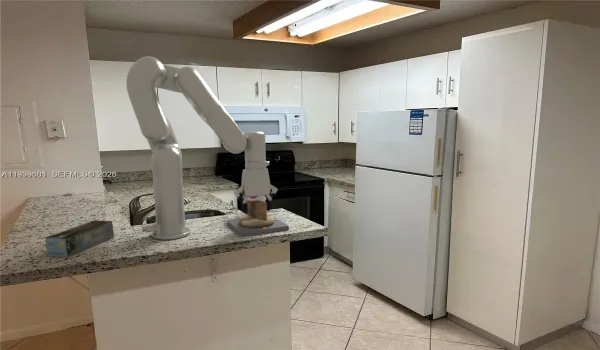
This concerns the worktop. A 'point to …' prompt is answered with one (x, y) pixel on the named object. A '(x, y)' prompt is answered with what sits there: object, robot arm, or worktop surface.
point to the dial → (256, 215)
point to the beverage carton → (79, 238)
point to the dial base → (249, 231)
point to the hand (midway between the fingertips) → (256, 211)
